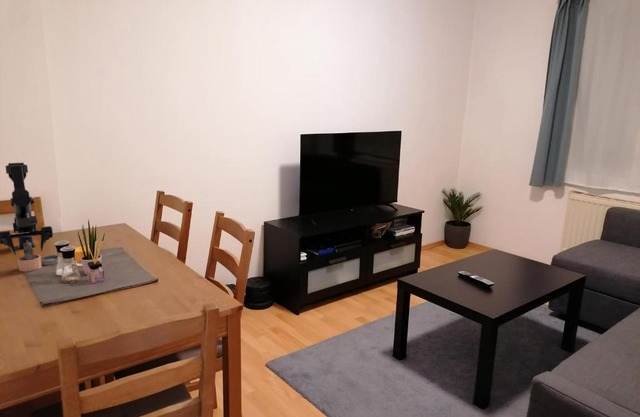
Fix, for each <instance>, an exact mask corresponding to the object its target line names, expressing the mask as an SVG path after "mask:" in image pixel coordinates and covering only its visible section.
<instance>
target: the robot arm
mask: <svg viewBox="0 0 640 417" xmlns="http://www.w3.org/2000/svg"><path fill="white" fill-rule="evenodd" d="M5 172H6V174H7V175H8V178H9V179H10V181H12V183H13V191H12V192H11V197H10V205H11V207H12V208H13V210H14V214H15V215H14V216H15V217H14V218H13V220H14V222H12V227H13V228H12V229H13V232H12V233H11V231H10V230H3V231H0V245H4V246H7V247H8V249H10V251H11V252H12V254H13V255H14V256H16V249H15V245H14V243H13V239H18V244H17V248H18V249H19V250H21V249H24V243H26V242H27V240H28V242H31V244H32V248H34V247H36V245H35V242H34V237H37V236H38V237H39V236H40V252H43V251H44V247H45V244H46V242H47V241H49V240H50V239H52V238H53V237H54V236H53V234H54V232H53V227H52V226H51V225H48V226H47V225H46V226H41V227H40V230H37V229H38V228H37V224H38V217H37V215H32V205H34V204H35V201H34V200H35V199H34V198H33V197H32V196H30V192H29V191H28V190H27V189H26V186H25V180H26V177H27V174H28V173H29V170H28V164H24V162H8V165H5Z"/></svg>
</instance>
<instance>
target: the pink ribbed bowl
mask: <svg viewBox="0 0 640 417" xmlns="http://www.w3.org/2000/svg"><path fill="white" fill-rule="evenodd" d="M33 256H34V257H35V258H36V259H33V260H23V259H24V257H25V255H22V256H20V257H18V258H17V262H18V263H17V265H18V271H20V272H32V271H31V270H34V271H37V270H40V269H41V268H42V267H43V265H42V264H41V257H42V256H41V255H40V254H33ZM36 269H37V270H36Z"/></svg>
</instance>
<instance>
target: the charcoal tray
mask: <svg viewBox="0 0 640 417" xmlns="http://www.w3.org/2000/svg"><path fill="white" fill-rule="evenodd" d="M57 257H58V254H51V255H50V254H48V255H44V256H41V264H42V266H49V265H50V266H51V265H52V266H53V265H55V264H58V263H57V261H58V258H57Z"/></svg>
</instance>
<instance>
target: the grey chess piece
mask: <svg viewBox="0 0 640 417" xmlns="http://www.w3.org/2000/svg"><path fill="white" fill-rule="evenodd" d="M22 252H23V253H24V254H23V256H25V257H24V259H23V260H33V259H36V258H35V257H34V256H33V255H34V249H33V247H32V244H31V242H28V240H27V242H26V243H24V248H23V251H22Z"/></svg>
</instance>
